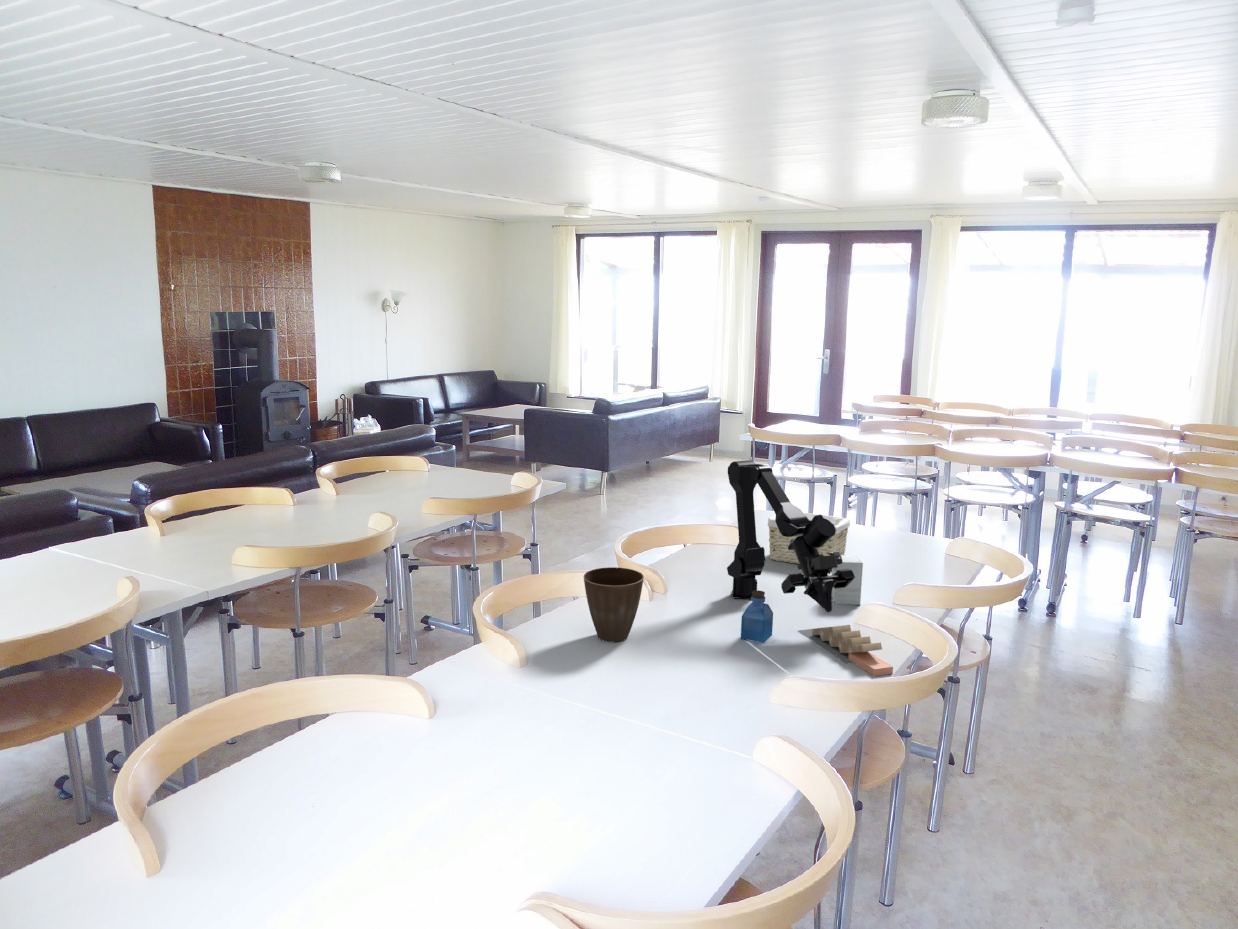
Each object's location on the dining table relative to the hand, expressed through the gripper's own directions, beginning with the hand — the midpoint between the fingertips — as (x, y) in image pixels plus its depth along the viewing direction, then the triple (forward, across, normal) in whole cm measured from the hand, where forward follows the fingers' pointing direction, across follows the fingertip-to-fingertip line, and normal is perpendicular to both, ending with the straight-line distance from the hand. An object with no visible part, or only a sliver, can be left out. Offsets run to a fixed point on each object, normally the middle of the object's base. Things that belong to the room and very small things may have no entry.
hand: (829, 611), depth 212 cm
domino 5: (+14, 0, -4) cm, 14 cm away
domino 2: (+5, 0, +4) cm, 7 cm away
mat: (+8, 0, +3) cm, 8 cm away
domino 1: (+2, 0, +7) cm, 7 cm away
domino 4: (+11, 0, -2) cm, 11 cm away
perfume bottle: (+1, -17, +10) cm, 20 cm away
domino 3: (+8, 0, +1) cm, 8 cm away
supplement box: (-12, +22, +23) cm, 34 cm away
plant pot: (-7, -51, +18) cm, 55 cm away
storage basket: (-41, +33, +52) cm, 74 cm away
